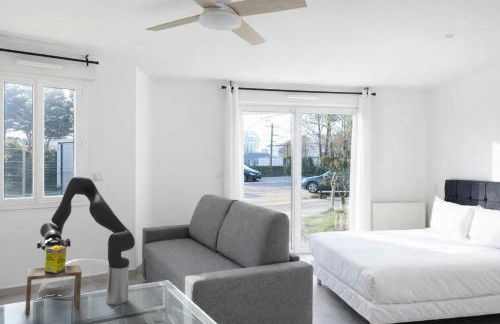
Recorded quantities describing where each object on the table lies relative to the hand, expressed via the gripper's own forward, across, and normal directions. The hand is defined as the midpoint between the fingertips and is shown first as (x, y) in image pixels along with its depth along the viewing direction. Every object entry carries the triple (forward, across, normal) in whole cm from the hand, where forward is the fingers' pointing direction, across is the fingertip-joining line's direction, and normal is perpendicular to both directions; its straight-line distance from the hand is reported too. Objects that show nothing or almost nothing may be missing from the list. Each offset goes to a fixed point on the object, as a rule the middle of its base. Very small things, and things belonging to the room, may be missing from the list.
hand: (54, 247), depth 176 cm
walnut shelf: (+9, 0, +24) cm, 26 cm away
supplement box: (+10, 0, +8) cm, 13 cm away
